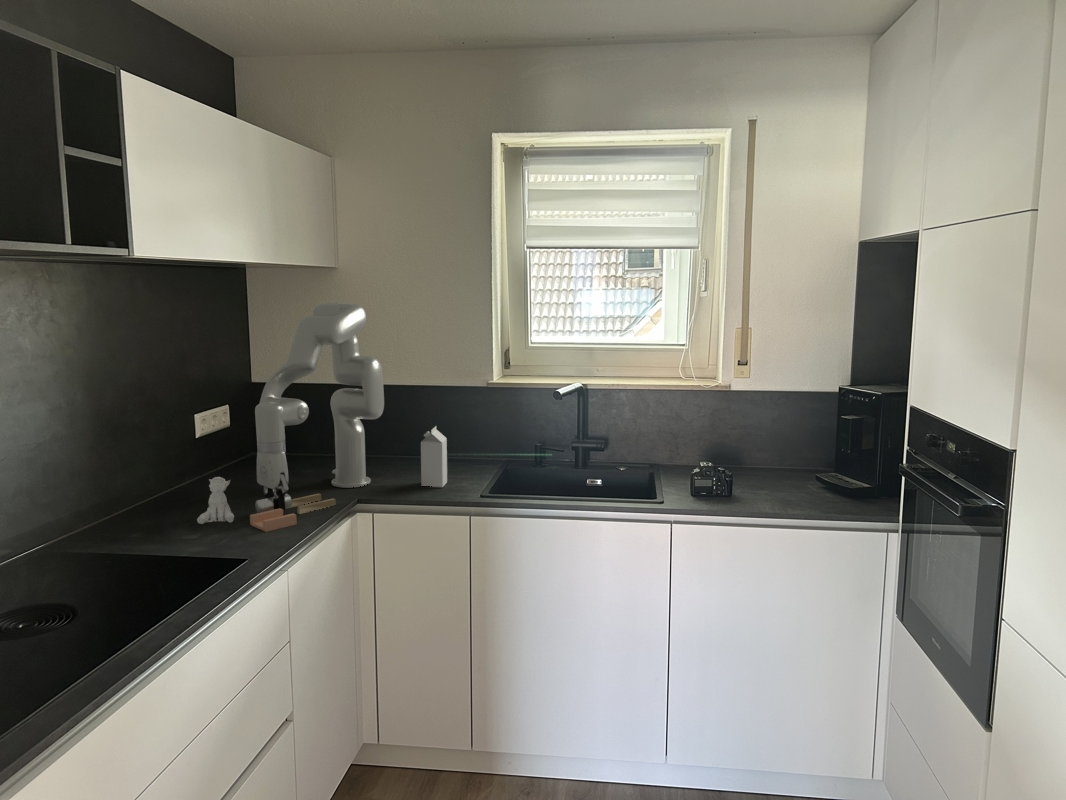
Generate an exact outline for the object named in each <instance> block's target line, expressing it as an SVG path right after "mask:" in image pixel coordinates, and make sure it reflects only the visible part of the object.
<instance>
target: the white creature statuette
mask: <svg viewBox="0 0 1066 800" xmlns="http://www.w3.org/2000/svg"><path fill="white" fill-rule="evenodd" d="M208 481H209V485H208V487H209V491H211V493H210V495H209V498H208V507H207V510H206V511H205V512H203V513H201V514H200V515H199V516H198V518H197V519H196V521H197V523H198V524H201V525H203V524H205V523H206V524H207V523H213V522H228V523H233V521H234V520H235V515H234V513H233V512H232V511H231V508H230V505H229V504H228V503H229V502H228V500H227V496H226V495H225V493H224V492H225V491H226V490H227V487H228V486H229V485H230V482H231V479H229V480H226V479H225V478H223V477H221V476H215V477H213V478H212V479H210V478H209V479H208Z"/></svg>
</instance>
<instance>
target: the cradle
mask: <svg viewBox="0 0 1066 800" xmlns="http://www.w3.org/2000/svg"><path fill="white" fill-rule="evenodd" d="M297 521H298V520H297V514H295V513H288V514H285V515H284V510H283V509H281V508H279V509H274V510H270V511H266V512H261V513H257V512H256V513H252V514H250V515H249V523H250V524H249V525H250V526H252V527H254V528H256V529H259V530H261V531H263V532H265V533H267V532H271V531H276V530H279V529H284V528H287V527H293V526H296V525H297Z"/></svg>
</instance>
